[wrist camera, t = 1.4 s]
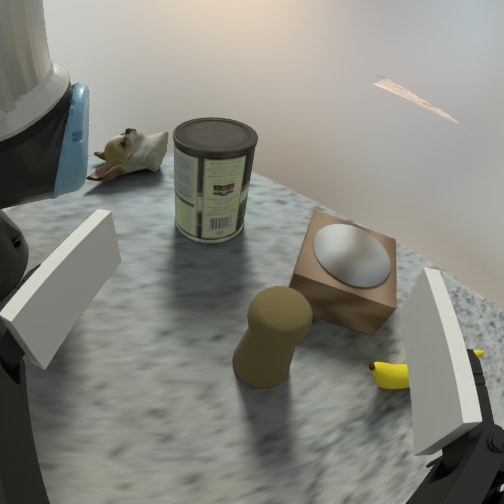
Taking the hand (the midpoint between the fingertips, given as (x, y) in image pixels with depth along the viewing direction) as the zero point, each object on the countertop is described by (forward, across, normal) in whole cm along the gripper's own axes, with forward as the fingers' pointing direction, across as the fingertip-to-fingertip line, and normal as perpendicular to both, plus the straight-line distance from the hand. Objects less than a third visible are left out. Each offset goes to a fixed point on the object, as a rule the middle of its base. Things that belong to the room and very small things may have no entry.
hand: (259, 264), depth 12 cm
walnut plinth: (+21, +8, -19) cm, 30 cm away
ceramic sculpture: (+36, -29, -14) cm, 48 cm away
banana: (+10, +19, -22) cm, 31 cm away
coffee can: (+28, -11, -16) cm, 34 cm away
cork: (+8, +1, -20) cm, 22 cm away
